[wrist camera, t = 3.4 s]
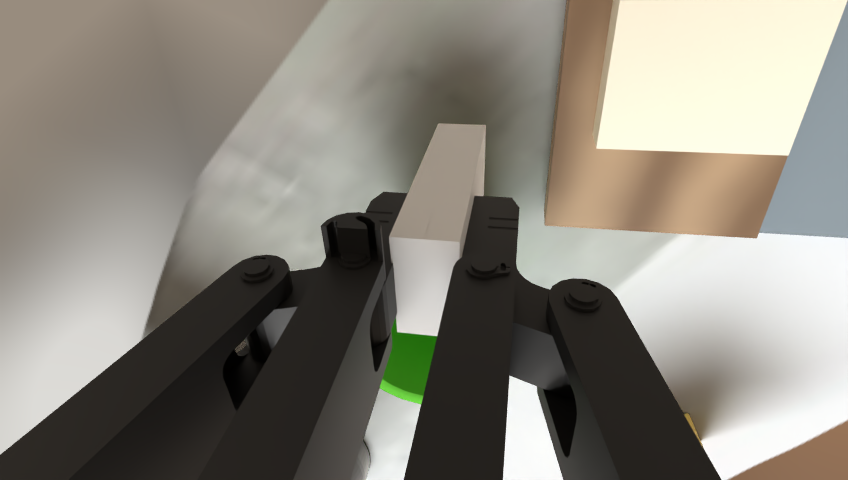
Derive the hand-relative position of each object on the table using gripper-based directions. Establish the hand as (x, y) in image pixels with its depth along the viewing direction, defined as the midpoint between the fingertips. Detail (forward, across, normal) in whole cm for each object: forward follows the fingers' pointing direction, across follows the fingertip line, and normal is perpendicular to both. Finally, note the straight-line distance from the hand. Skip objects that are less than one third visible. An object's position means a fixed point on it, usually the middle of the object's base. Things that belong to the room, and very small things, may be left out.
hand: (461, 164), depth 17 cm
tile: (+13, +10, 0) cm, 16 cm away
